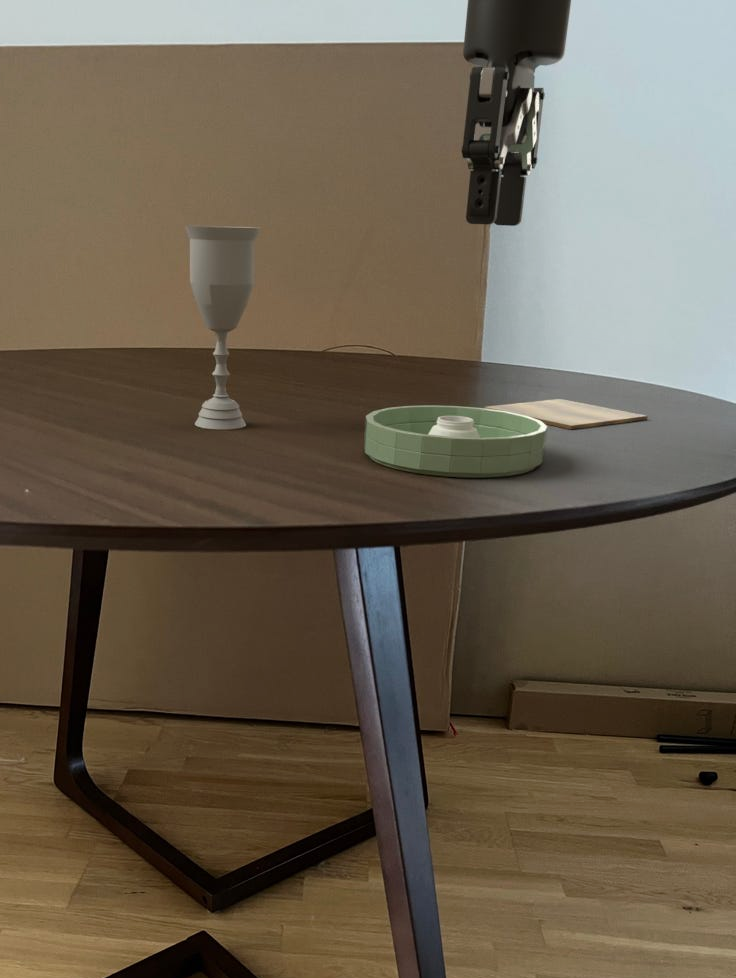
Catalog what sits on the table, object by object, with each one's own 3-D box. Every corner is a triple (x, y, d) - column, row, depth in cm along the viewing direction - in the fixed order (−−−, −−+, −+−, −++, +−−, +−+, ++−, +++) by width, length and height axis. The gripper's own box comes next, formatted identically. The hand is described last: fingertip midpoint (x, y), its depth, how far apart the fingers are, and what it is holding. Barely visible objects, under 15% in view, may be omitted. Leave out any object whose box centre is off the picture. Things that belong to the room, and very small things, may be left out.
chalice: (223, 434, 96) (226, 227, 89) (169, 424, 100) (167, 225, 93) (270, 424, 102) (276, 228, 95) (217, 415, 105) (218, 226, 98)
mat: (559, 402, 118) (559, 398, 118) (647, 419, 109) (647, 415, 109) (484, 410, 112) (484, 406, 112) (570, 429, 102) (571, 425, 102)
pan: (454, 434, 99) (457, 400, 98) (579, 466, 87) (585, 428, 86) (328, 449, 91) (330, 413, 90) (448, 487, 79) (452, 445, 78)
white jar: (490, 452, 90) (437, 444, 92) (494, 418, 88) (440, 411, 91) (468, 462, 86) (413, 454, 88) (471, 426, 85) (416, 419, 87)
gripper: (552, -35, 69) (521, 226, 75) (588, 4, 81) (558, 227, 87) (443, -28, 72) (422, 222, 78) (493, 9, 84) (471, 224, 90)
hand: (494, 224), depth 82 cm, fingers open, 8 cm apart
